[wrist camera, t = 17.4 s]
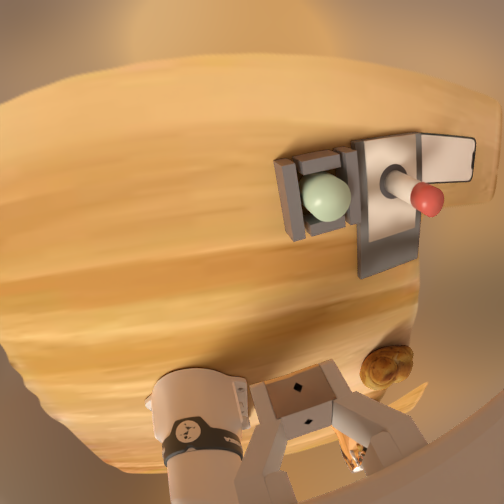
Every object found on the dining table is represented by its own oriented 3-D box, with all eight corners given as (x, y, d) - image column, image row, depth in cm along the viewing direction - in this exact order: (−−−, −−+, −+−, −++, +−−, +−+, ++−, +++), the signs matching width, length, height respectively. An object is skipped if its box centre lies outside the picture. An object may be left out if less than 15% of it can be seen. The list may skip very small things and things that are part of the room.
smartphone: (404, 184, 39) (469, 181, 41) (406, 185, 38) (471, 182, 41) (408, 130, 35) (474, 137, 37) (410, 131, 35) (476, 138, 37)
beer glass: (358, 412, 67) (382, 457, 54) (343, 426, 69) (364, 470, 56) (339, 413, 64) (363, 462, 51) (323, 428, 67) (344, 475, 54)
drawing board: (413, 255, 45) (418, 259, 44) (357, 275, 44) (361, 280, 43) (416, 131, 35) (422, 133, 34) (350, 141, 34) (356, 142, 33)
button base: (349, 213, 38) (361, 222, 36) (285, 231, 38) (293, 241, 35) (343, 146, 34) (356, 150, 31) (273, 160, 33) (281, 166, 30)
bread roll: (412, 334, 56) (433, 360, 49) (396, 366, 60) (413, 391, 53) (364, 345, 53) (384, 375, 46) (349, 378, 57) (365, 407, 50)
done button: (336, 203, 37) (352, 215, 33) (299, 213, 36) (312, 226, 33) (332, 165, 34) (349, 174, 31) (294, 174, 34) (307, 183, 30)
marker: (403, 191, 37) (443, 213, 30) (384, 196, 37) (423, 220, 30) (403, 167, 35) (444, 186, 28) (383, 171, 35) (424, 191, 28)
